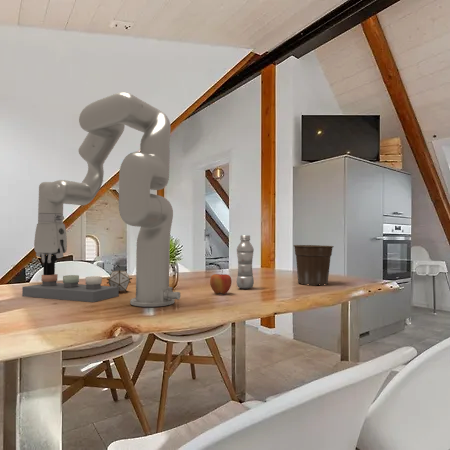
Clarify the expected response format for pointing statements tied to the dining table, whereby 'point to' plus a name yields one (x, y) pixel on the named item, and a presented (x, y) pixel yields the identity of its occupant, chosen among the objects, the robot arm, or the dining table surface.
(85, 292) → the board
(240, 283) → the plastic bottle
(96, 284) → the cream button
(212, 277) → the apple
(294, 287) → the dining table surface
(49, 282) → the terracotta button
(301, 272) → the plant pot
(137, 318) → the dining table surface
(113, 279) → the game die
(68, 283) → the sage button
